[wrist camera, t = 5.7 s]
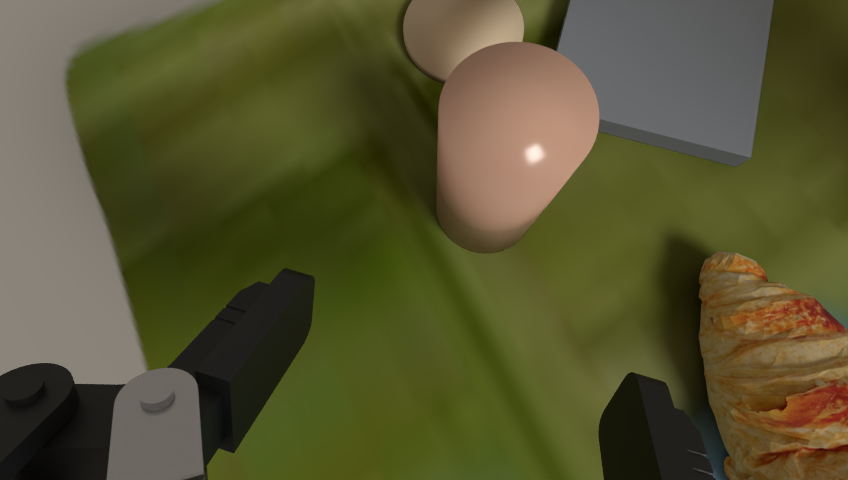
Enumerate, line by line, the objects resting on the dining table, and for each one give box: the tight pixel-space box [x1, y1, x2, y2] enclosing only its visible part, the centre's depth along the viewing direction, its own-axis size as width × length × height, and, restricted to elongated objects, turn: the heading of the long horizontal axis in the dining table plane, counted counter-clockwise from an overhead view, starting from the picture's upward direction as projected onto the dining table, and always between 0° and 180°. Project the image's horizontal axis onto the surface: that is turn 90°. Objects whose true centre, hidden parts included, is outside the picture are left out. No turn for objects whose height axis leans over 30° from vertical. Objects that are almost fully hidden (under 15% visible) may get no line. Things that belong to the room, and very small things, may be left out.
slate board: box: [555, 0, 774, 167], centre depth 26 cm, size 11×14×1 cm
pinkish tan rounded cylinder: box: [436, 42, 599, 254], centre depth 20 cm, size 5×5×10 cm
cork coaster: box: [403, 0, 524, 83], centre depth 27 cm, size 7×7×1 cm
